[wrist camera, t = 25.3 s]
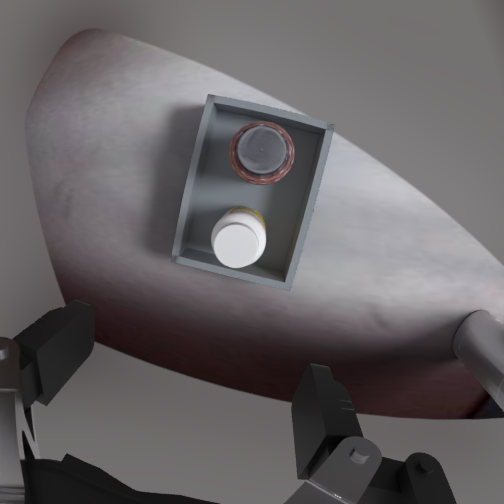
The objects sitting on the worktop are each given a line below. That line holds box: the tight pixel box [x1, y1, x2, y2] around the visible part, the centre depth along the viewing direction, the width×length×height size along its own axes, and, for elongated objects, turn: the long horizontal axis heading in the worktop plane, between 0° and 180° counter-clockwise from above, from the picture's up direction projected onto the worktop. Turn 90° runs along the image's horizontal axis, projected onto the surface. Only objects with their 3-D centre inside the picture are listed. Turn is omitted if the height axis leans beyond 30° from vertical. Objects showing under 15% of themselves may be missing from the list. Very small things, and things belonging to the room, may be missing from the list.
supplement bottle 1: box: [229, 121, 295, 185], centre depth 29 cm, size 6×6×11 cm
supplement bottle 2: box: [211, 206, 266, 268], centre depth 32 cm, size 5×5×10 cm
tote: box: [171, 94, 335, 291], centre depth 34 cm, size 14×19×5 cm
